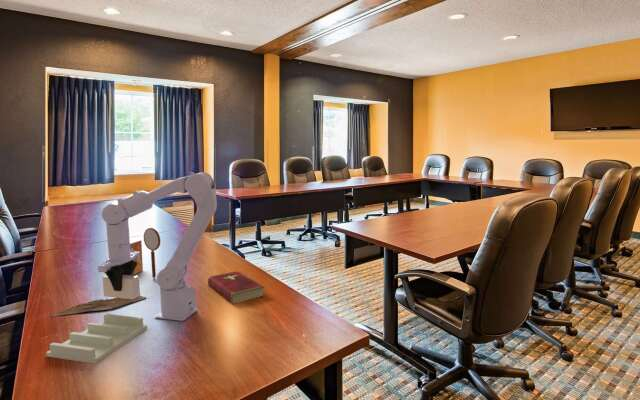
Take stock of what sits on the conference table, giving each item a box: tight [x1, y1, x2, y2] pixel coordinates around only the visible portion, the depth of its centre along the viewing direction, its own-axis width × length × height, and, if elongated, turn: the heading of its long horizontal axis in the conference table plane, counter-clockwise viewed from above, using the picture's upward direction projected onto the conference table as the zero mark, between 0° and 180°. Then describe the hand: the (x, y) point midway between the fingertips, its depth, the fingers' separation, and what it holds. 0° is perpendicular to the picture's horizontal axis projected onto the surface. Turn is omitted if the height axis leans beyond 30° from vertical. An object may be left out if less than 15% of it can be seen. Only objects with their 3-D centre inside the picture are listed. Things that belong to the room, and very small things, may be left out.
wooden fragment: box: [52, 295, 147, 317], centre depth 122 cm, size 26×11×1 cm, turn 119°
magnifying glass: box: [143, 227, 161, 280], centre depth 146 cm, size 9×2×20 cm, turn 61°
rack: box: [45, 313, 148, 364], centre depth 100 cm, size 14×18×3 cm
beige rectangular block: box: [102, 274, 141, 299], centre depth 114 cm, size 10×3×6 cm, turn 77°
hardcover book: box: [207, 270, 266, 305], centre depth 135 cm, size 12×21×4 cm, turn 36°
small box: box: [130, 238, 144, 276], centre depth 153 cm, size 8×6×13 cm
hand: (122, 288), depth 114 cm, fingers closed on beige rectangular block, 3 cm apart
